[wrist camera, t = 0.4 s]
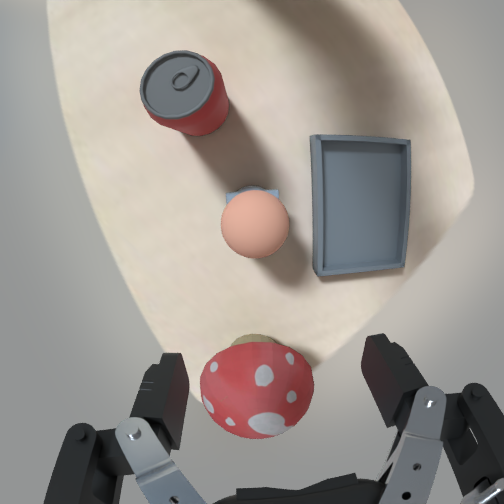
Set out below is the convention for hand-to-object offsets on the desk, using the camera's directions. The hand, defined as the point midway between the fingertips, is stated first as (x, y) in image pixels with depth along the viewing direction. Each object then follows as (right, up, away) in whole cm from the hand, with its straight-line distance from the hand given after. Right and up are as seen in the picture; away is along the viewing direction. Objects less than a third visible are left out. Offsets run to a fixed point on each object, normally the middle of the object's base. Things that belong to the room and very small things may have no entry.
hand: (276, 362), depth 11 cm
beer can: (-7, +21, +17) cm, 28 cm away
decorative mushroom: (-1, -8, +27) cm, 29 cm away
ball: (-1, +8, +16) cm, 18 cm away
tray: (+12, +11, +21) cm, 26 cm away
